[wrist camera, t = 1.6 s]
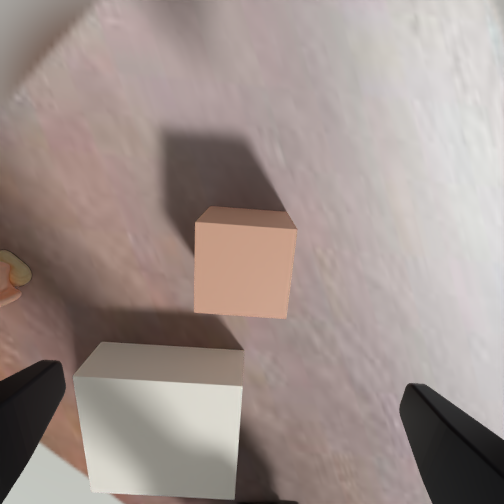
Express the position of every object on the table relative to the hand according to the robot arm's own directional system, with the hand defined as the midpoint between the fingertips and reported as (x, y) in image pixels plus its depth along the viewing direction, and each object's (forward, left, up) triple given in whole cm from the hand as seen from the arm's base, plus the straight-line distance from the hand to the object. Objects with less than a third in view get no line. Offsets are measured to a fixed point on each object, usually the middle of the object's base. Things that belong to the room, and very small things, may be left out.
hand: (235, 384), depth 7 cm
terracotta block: (0, 0, -13) cm, 13 cm away
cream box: (-14, +5, -13) cm, 20 cm away
